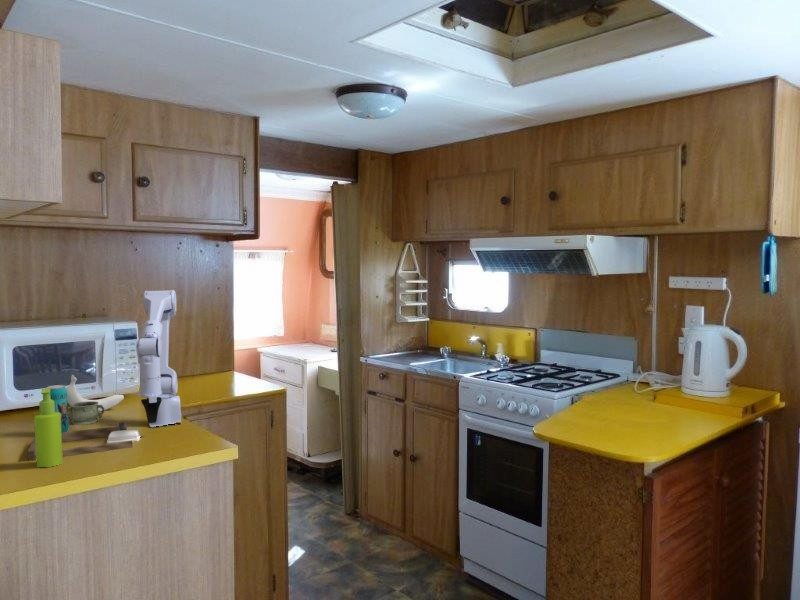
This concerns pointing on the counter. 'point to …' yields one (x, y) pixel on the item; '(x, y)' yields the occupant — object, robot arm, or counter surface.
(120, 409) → the counter surface
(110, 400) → the banana
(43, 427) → the soap dispenser
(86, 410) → the vessel
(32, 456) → the hook rack
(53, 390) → the beverage can
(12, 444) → the counter surface
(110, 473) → the counter surface
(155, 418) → the robot arm
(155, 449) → the counter surface
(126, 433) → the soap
